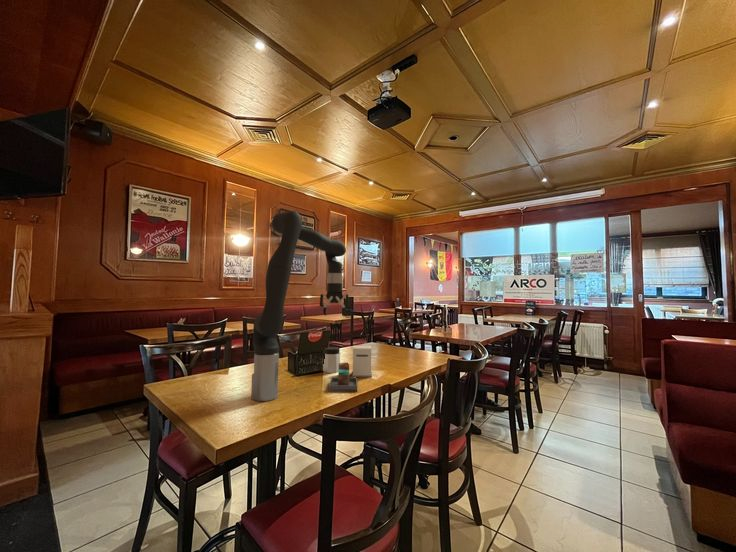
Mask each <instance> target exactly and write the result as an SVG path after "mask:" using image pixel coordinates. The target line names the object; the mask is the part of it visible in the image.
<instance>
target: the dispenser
mask: <svg viewBox="0 0 736 552" xmlns="http://www.w3.org/2000/svg"><path fill="white" fill-rule="evenodd" d="M372 373H373V372H372V346H371V345H353V347H352V371H351V378H352V377H360V378H361V377H372V378H373V374H372ZM361 379H362V378H361Z"/></svg>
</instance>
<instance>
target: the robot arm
mask: <svg viewBox="0 0 736 552" xmlns="http://www.w3.org/2000/svg"><path fill="white" fill-rule="evenodd" d="M271 220H272V221H271V225H272V227H273V230H274V231H275V232H276V233H278V234H280V235H281V240H280V242H279V244H278V246H277V248H276V250H274V253H273V254H272V256H271V257H270V259H269V261H268V265H267V269H266V275H265V303H264V307H263V311H262V312H260V313H259V314H257V316H256V317H255V319H254V321H253V329H252V331H253V334H252V337H253V339H252V340H253V341H252V342H253V348H254V350H253V351H254V353H253V355H254V356H253V357H254V359H253V373H251V389H250V390H251V396H250V399H251V401H256V402H267V401H273V400H275V399H277V398H278V397H279V396H278V395H279V370H280V369H279V366H280V363H279V362H280V359H279V358H280V346H279V343H278V340H277V336H278V334H279V333H280V331H281V330H282V327H283V320H284V310H285V300H286V298H287V293H288V292H287V291H288V289H289V287H288V286H289V283H290V277H291V274H292V273H291V272H292V268H293V261H294V256H295V252H296V249H297V248H296V247H297V244H298V241H302V242H304V243H306V244H308V245H310V246H312V247H314V248H315V249H318V250H320V251H323V252H324V254H325V258H326V262H327V279H326V280H327V284H326V294H320V297H319V307H321V308H323V310H322V312H323V313H322V314H323V315H324V316H327V315H328V314H327V313H328V312H327V308H328V305H329V304H334V303H335V304H339V305H340V306H341V307H342V308H341V316H342V317H343V316H344V315H346V308H347V307H349V306H350V302H349V301H350V298H349V297H350V296H349V294H344V293H343V263H342V262H341V261H337V257H342V256H344V255H345V254H346V252H347V248H346V245H345V244H344V243H343V242H341V241H339V240H338V239H337V240H336V239H335V238H334V239H333V238H330V237H328V236H326V235H325V234H324V233H321V232H319V231H317V230H313V229H311V228H307V227H303V220H302V217H301V214H299V212H297V211H293V210H289V211H284V212H279V213H277V214H275V215H274V216H273V217H272V219H271ZM325 298H326V301H325V303H324V299H325ZM342 299H345V304H344V302H343V301H342Z"/></svg>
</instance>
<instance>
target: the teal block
mask: <svg viewBox="0 0 736 552" xmlns="http://www.w3.org/2000/svg"><path fill="white" fill-rule="evenodd" d="M337 374H338V375H337V376H338V377H337V378H338V385H349V378H350V369H349V370H339V371H338V372H337Z"/></svg>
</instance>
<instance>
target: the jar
mask: <svg viewBox="0 0 736 552" xmlns="http://www.w3.org/2000/svg"><path fill="white" fill-rule="evenodd" d="M327 347H328V348H325V347H324V348H325V359H324V364H323V363H322V371H323V372H324V373H326V374H332V373H333V374H335V373H338V372H339V363H341V352H340V351H341V350H340V346H339V347H338V346H327Z"/></svg>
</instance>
